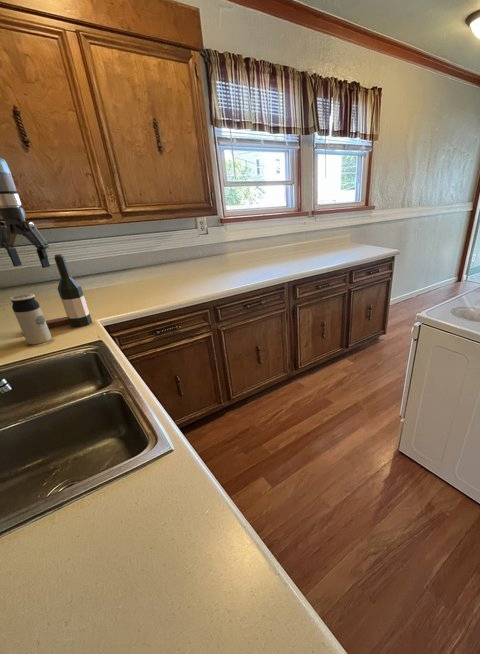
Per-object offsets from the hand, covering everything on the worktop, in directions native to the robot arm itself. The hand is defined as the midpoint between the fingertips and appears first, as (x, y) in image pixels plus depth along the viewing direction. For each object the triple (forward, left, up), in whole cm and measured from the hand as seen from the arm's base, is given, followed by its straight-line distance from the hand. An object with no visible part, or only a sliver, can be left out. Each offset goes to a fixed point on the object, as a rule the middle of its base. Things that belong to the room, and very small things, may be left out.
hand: (32, 266), depth 127 cm
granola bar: (-3, +5, -27) cm, 27 cm away
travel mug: (-1, -11, -27) cm, 29 cm away
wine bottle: (+8, +5, -27) cm, 28 cm away
